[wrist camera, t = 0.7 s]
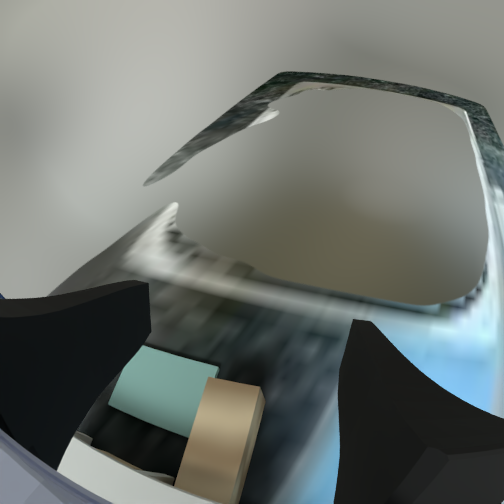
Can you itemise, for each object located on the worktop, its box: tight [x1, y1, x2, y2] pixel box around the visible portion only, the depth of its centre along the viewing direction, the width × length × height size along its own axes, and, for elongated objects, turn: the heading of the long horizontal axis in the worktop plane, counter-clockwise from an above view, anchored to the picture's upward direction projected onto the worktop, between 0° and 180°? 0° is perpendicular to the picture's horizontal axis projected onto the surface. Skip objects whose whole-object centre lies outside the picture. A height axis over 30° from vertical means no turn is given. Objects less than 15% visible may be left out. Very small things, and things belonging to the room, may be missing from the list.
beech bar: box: [174, 377, 265, 504], centre depth 20 cm, size 12×4×4 cm, turn 167°
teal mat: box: [108, 345, 220, 438], centre depth 26 cm, size 7×9×1 cm
